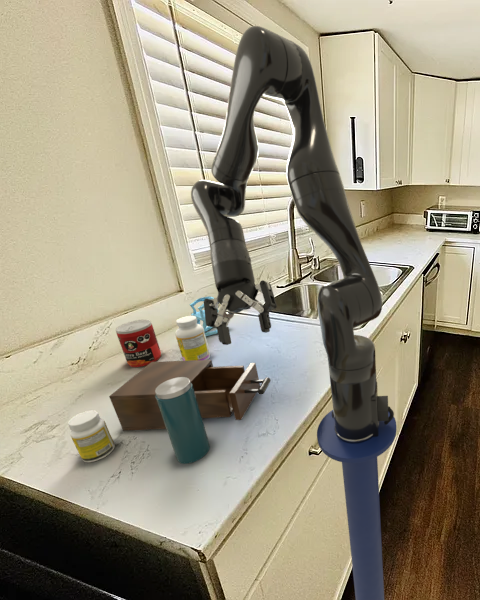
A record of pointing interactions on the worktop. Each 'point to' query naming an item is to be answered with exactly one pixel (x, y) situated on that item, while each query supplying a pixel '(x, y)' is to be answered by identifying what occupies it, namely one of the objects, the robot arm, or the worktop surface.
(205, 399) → the drawer
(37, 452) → the worktop surface
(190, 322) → the supplement bottle
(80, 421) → the supplement bottle
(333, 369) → the robot arm
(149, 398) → the cabinet
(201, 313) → the chair
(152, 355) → the canned food
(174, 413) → the can
